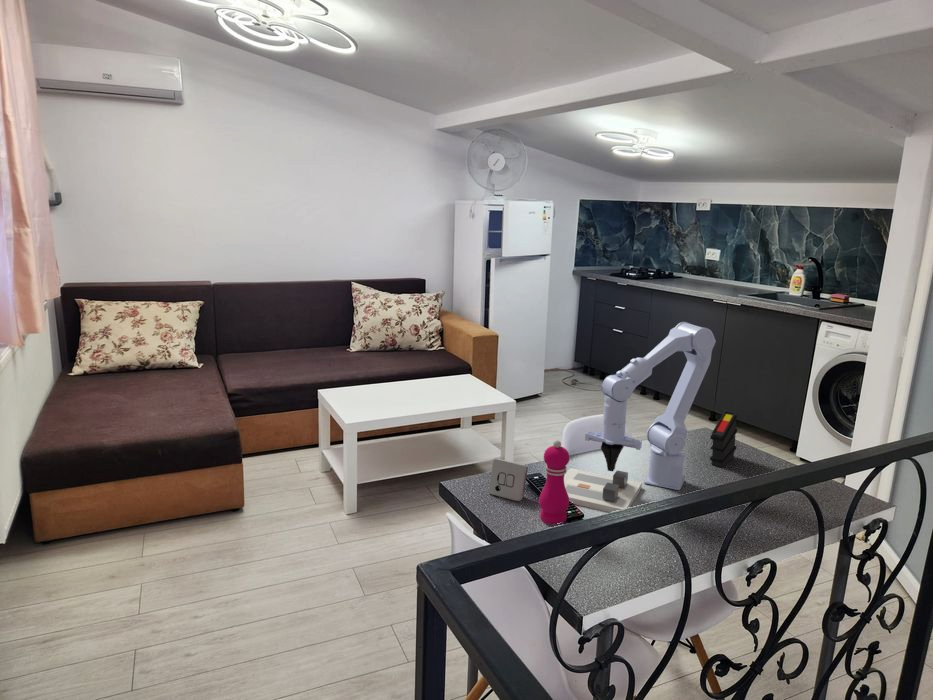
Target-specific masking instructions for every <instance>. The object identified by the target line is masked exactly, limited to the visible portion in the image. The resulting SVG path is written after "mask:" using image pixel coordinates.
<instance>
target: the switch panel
mask: <svg viewBox="0 0 933 700" xmlns="http://www.w3.org/2000/svg"><path fill="white" fill-rule="evenodd" d="M607 483H612V484H613V476H610V475H606V474H599V473H596V472H590V471H586V470H581V469H575V468H572V467H570V468H568V470H566V474H564V485H565V488H566V491H567V494H568V497H569V500H570V501H571V502H573V503H574V504H573V505H577V506H582V507H586V508H590V509H594V510H599V511H603V512H607V513H611V512H612V511H616V510H621V509H625V508H628V507H630V508H631V507H632V505H633V503H634V502H635V499H636V498H637V497H638V495H639V492H640V491H641V490H642V486H643V483H642V482H641V481H640V482H639V481H635V480H630V479H628V481H627V484H626V485H625V487H624V488H622V487H619V492H618V496H617V498H616V499H615V501H610V500H606V499H602V497H603V488H604V487H605V485H606V484H607Z"/></svg>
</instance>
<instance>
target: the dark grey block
mask: <svg viewBox="0 0 933 700" xmlns="http://www.w3.org/2000/svg"><path fill="white" fill-rule="evenodd" d="M612 477H613V484H617V485H619V487H622V488H624V487H625V485H626V484H627V481H628V480H629V472H627V471H622V470H618V469H617V470H616V471H615V472H614V474H613V475H612Z"/></svg>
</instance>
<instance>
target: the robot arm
mask: <svg viewBox="0 0 933 700" xmlns="http://www.w3.org/2000/svg"><path fill="white" fill-rule="evenodd" d="M716 342H717V341H716V338H715V335H714V334H713V332H712V330H711V329H709V328H707V327H702V326H698V325H694V324H692V323H689V322H688V321H681V322H679V323H677V325H675V327H673V328H671V329H670V330H669V333H668V335H667V336H666V337H665V338H664V339H663V340H661V342H659V343H658V344H657V345H656V346H655V347H654V348H653V349H652V350H651V351H650V352H648V353H647V354H646V355H645V356H644V357H636V358H632V359H630V362H629V363H627V365H626V366H624V367H623V368H622V369H621V370H618V371H616V373H615V374H610V375H607V376H606V377H605V378H604V380H603V381H602V384H601V385H600V390H601V392H602V394H603V400H604V402H603V416H602V417H603V418H602V420H603V421H602V432H597V431H595V432H594V431H586V432H585V434H584V435H585V436H584V437H585V438H584V440H585V441H586V442H587V441H588V442H589V441H593V442H598V443H601V446H600V450H601V452H602V454H603V455H604V456H603V457H604V458H605V459H604V460H605V462H606V463H605V464H606V468H607V471H608V472H614V470H615V469H616V464H617V461H618V460H619V456H620V455H621V452H623V451H622V450H623V449H624V447H626V448H633V449H635V450H637V451H641V450H642V446H643V444H642V443H643V441H642V440H640V439H636V438H632V437H629V436H626V433H625V432H626V421H627V419H626V418H627V408H628V406H627V405H628V400H629V399H630V398H632V395H633V391H634V390H635V389H636V387H637V386H639V385H640V384H641V383H643V382H645V380H646V379H647V378H649V377H650V376H652V374H653V368H655V367H656V366H657V365H659V364H661V362H663V361H664V360H666V359H668V357H670V356H672V355H673V354H675V353H676V352H683V353H684V356H685V358H686V360H687V361H686V363H685V366H684V368H683V370H682V372H681V375H680V377H679V380H678V381H677V383H676V386H675V388H674V391H673V393H672V395H671V397H670V400H669V401H668V404H667V407H666V408H665V411H664V413H662V414H660V415H658V416H656V417H655V420H654V421H653V423H652V424H651V425H650V426H649V427H648V429H646V430H647V431H646V435H645V436H646V440H647V441H648V442H649V448H650V455H649V466H648V475H647V476H646V478H645V480H644V484H647V485H651V486H657V487H661V488H666V489H670V490H671V489H672V490H676V491H680V490H681V489H682V487H683V485H684V483H685V478H686V466H687V454H683V453H682V451H684V448H685V447H686V446H685V445H686V437H687V434H688V429H687V427H686V424H685V420H686V419H687V416H688V413H689V412H690V409H691V407H692V405H693V402H694V400H695V397H696V396H697V394H698V391H699V389H700V387H701V384H702V381H703V380H704V378H705V376H706V373H707V371H708V368H709V367H710V364H711V360H712V352H713V349H714V347H715V345H716Z"/></svg>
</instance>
